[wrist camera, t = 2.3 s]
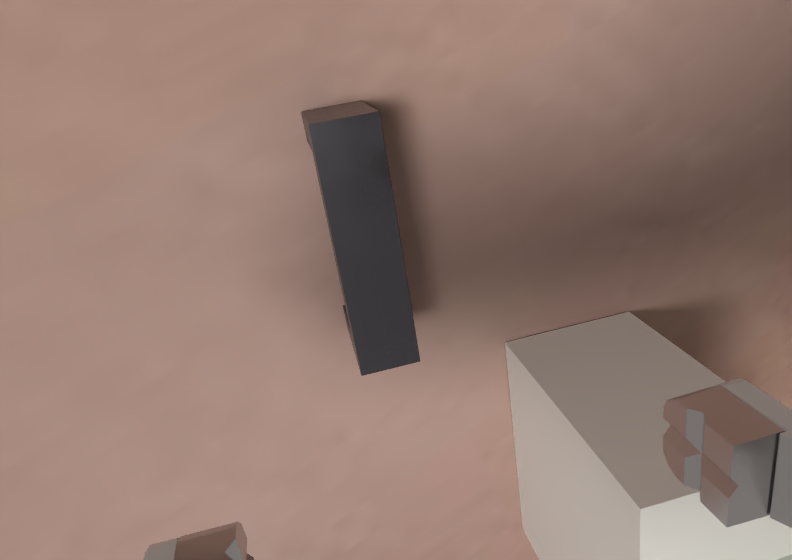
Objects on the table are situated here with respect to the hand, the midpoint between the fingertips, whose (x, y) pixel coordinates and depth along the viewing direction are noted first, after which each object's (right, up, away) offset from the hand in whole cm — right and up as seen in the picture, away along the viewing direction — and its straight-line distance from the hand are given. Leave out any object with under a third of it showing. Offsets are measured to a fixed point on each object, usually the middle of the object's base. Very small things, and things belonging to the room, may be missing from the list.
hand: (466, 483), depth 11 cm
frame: (-3, +6, +15) cm, 17 cm away
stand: (+9, -5, +22) cm, 25 cm away
